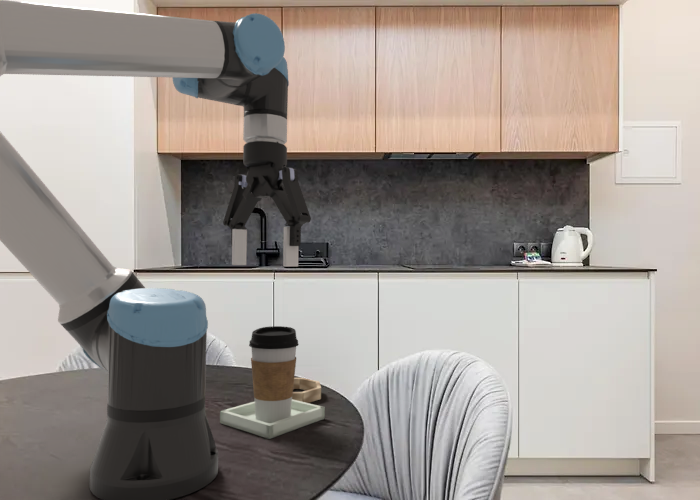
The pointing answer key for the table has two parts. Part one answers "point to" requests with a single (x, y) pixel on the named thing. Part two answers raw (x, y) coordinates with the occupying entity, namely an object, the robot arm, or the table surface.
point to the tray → (247, 421)
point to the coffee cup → (273, 371)
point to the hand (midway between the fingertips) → (263, 266)
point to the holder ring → (311, 390)
